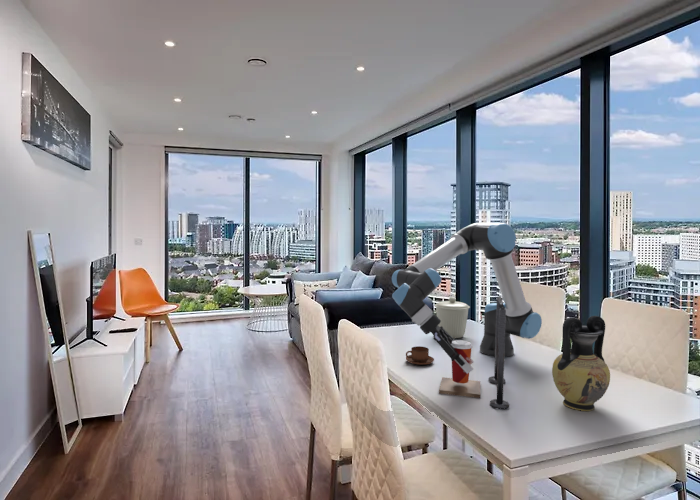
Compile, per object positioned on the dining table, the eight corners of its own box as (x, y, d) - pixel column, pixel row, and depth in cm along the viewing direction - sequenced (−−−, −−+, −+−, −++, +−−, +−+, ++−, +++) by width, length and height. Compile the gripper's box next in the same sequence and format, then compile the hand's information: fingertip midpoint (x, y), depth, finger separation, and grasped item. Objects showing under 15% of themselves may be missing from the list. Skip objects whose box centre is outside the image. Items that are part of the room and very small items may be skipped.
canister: (432, 338, 235) (433, 298, 233) (436, 331, 252) (437, 293, 251) (468, 342, 229) (469, 300, 228) (469, 333, 247) (470, 295, 245)
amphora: (582, 420, 138) (586, 323, 136) (539, 400, 154) (542, 313, 152) (621, 411, 145) (625, 319, 143) (576, 393, 161) (579, 309, 159)
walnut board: (480, 384, 168) (480, 381, 168) (480, 398, 155) (480, 394, 155) (442, 380, 172) (442, 377, 172) (438, 393, 159) (438, 390, 159)
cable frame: (488, 378, 175) (491, 294, 173) (504, 379, 174) (507, 295, 172) (490, 408, 146) (493, 308, 145) (509, 410, 145) (513, 309, 143)
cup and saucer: (416, 368, 186) (416, 354, 186) (400, 360, 197) (400, 346, 197) (439, 364, 192) (440, 350, 191) (422, 357, 202) (423, 343, 202)
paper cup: (472, 385, 159) (473, 345, 158) (449, 383, 160) (450, 344, 160) (470, 377, 167) (471, 340, 166) (449, 376, 168) (450, 339, 167)
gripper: (422, 320, 177) (463, 365, 173) (415, 333, 157) (461, 383, 153) (436, 308, 175) (478, 353, 171) (430, 318, 155) (478, 370, 151)
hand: (470, 367), depth 162 cm, fingers closed on paper cup, 8 cm apart
